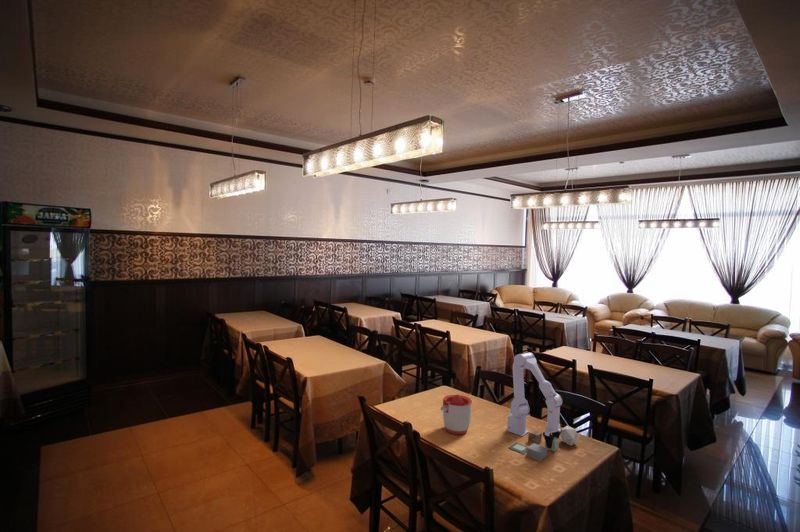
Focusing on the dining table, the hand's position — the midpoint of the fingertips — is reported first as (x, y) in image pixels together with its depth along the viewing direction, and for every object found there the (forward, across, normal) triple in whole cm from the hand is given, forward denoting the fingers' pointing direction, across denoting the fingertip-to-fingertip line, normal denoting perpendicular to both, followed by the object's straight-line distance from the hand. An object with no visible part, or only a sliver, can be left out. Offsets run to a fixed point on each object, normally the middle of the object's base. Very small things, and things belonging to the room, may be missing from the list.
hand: (551, 445), depth 199 cm
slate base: (+2, -13, +2) cm, 13 cm away
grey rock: (+2, +12, -4) cm, 13 cm away
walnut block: (+2, 0, +9) cm, 9 cm away
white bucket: (+2, -21, +45) cm, 50 cm away
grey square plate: (+1, -13, +11) cm, 17 cm away
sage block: (+2, 0, 0) cm, 2 cm away
